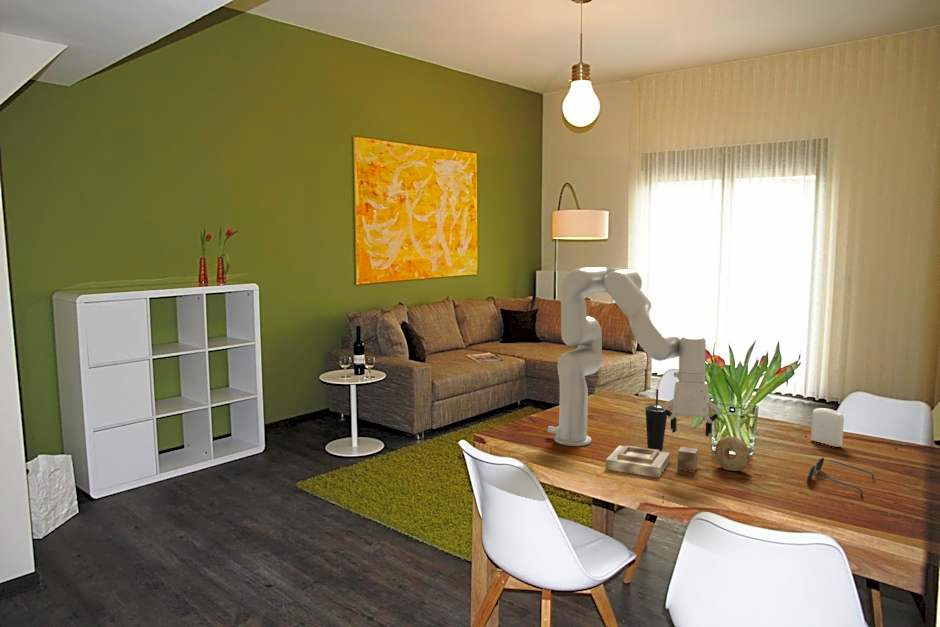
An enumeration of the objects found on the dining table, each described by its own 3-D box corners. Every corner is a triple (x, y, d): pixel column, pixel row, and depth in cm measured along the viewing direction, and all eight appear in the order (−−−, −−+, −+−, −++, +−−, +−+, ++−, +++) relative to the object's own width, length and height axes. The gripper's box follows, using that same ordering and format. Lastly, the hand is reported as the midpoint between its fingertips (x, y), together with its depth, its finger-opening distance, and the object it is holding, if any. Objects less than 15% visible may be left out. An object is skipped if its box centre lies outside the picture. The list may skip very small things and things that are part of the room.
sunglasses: (819, 471, 210) (822, 455, 209) (873, 488, 201) (877, 472, 200) (804, 486, 196) (807, 470, 196) (861, 505, 187) (865, 488, 186)
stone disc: (711, 467, 211) (713, 435, 210) (716, 464, 214) (718, 433, 212) (746, 475, 204) (747, 442, 203) (750, 472, 207) (752, 440, 206)
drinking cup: (667, 452, 225) (670, 392, 223) (643, 451, 227) (645, 391, 224) (666, 445, 233) (668, 387, 230) (642, 444, 234) (644, 386, 232)
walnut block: (677, 470, 209) (678, 450, 208) (680, 465, 213) (681, 446, 212) (694, 472, 206) (695, 453, 206) (697, 467, 211) (698, 448, 210)
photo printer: (808, 441, 239) (810, 406, 237) (816, 439, 241) (818, 405, 239) (836, 449, 230) (838, 413, 228) (844, 447, 232) (846, 411, 231)
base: (605, 469, 209) (606, 455, 208) (619, 454, 223) (619, 441, 222) (659, 477, 202) (659, 463, 201) (669, 461, 216) (670, 448, 215)
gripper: (659, 377, 207) (659, 433, 209) (720, 381, 199) (719, 439, 201) (664, 373, 214) (664, 427, 215) (723, 377, 206) (722, 433, 207)
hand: (690, 433), depth 208 cm, fingers open, 9 cm apart
